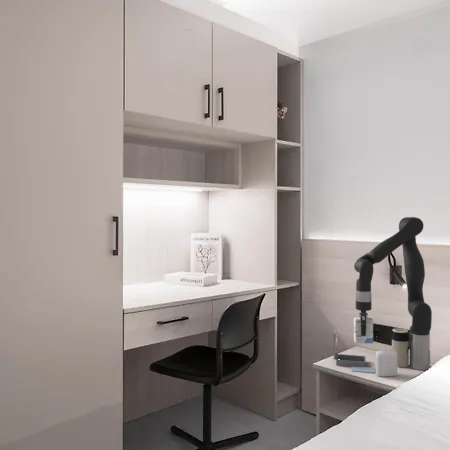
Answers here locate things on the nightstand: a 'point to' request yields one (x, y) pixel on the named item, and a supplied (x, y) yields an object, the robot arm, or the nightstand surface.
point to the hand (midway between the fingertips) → (363, 333)
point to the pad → (363, 369)
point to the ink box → (369, 331)
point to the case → (347, 356)
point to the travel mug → (401, 346)
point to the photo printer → (386, 363)
